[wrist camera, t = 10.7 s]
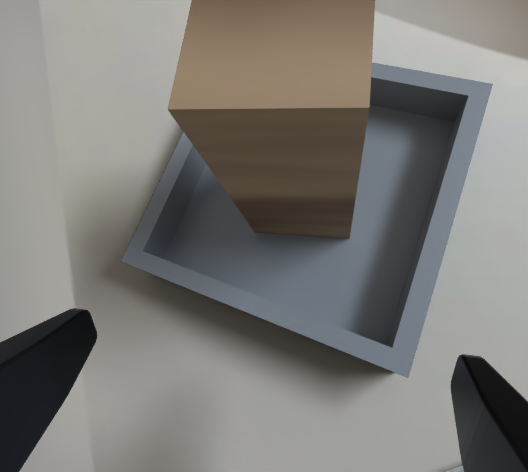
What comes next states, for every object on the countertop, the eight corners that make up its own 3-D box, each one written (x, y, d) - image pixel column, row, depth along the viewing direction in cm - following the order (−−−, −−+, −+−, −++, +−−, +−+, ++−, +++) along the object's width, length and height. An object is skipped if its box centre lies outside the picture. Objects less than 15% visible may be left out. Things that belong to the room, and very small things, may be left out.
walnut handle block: (349, 238, 17) (369, 107, 8) (255, 232, 18) (167, 109, 8) (354, 151, 18) (377, -56, 9) (266, 150, 19) (200, -38, 10)
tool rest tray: (396, 372, 16) (408, 377, 13) (148, 272, 19) (120, 261, 17) (471, 119, 18) (492, 84, 16) (241, 71, 22) (229, 37, 19)
